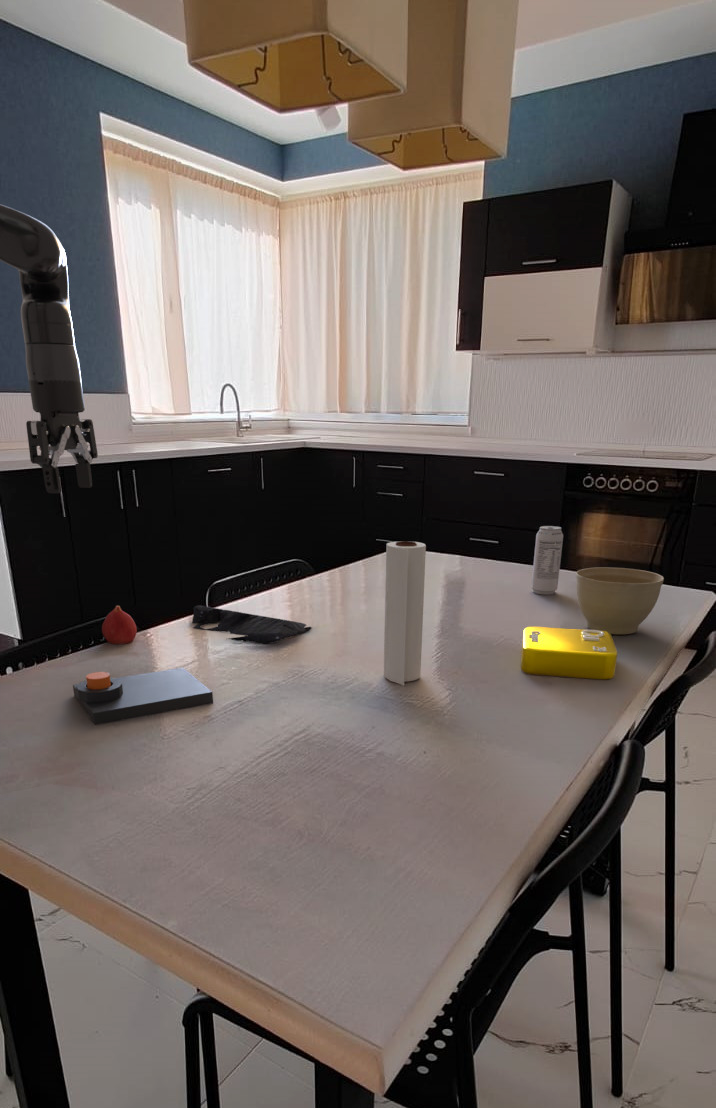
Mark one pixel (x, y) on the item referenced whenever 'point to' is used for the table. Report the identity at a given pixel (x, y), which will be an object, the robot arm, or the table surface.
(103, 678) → the button
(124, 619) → the onion
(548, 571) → the energy drink can
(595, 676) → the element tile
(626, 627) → the planter bowl
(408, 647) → the paper towel roll
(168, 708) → the scale
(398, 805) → the table surface
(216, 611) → the dark slate chunk
